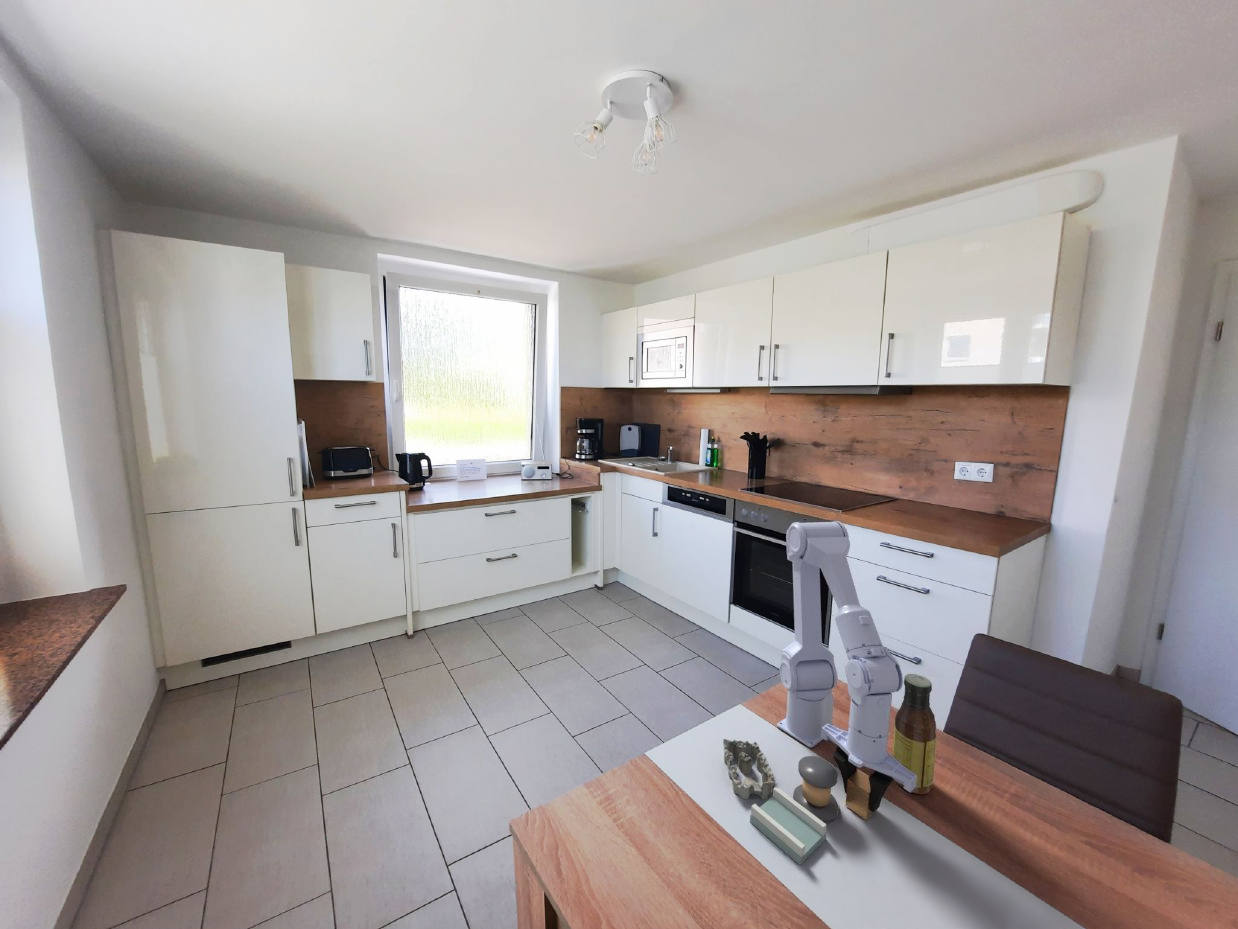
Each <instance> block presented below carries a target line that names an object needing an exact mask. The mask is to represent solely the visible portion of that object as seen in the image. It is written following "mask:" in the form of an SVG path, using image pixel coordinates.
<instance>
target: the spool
mask: <svg viewBox="0 0 1238 929" xmlns="http://www.w3.org/2000/svg"><path fill="white" fill-rule="evenodd" d="M797 765H798V768H797V770H798V774H799V775H800V777H801V778H802V784H799V785H798V786H796V787H795V788H794V790H793V794H792V795H793V796H792V799H794V800H795V801H796V802H797V803H799V804H800V805H801V806H803V807H804V808H805V809H807V810H808V811H809V812H811V813H812V814H813V815H815V816H816V817H817V818H818V819H820V820H821V821H822V822H824V823H825V824H827V823H828V824H830V823H832V822H834V821H835V820H836V819H837V818H838V815H839V803H838V801H837V800H836V798H835V796H833V794H832V788H833V787H835V786H836V785H837V783H838V777H839V776H838V772H837V769H836V767H835V766H834V765H833V764H832V763H830V762H829V761H828V760H826V759H824V758H821V757H820V756H819V757H818V756H815V755H806V756H804V757H802V758H800V759H799V761H798V764H797Z"/></svg>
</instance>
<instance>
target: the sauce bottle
mask: <svg viewBox="0 0 1238 929" xmlns="http://www.w3.org/2000/svg"><path fill="white" fill-rule="evenodd" d="M903 685H904V694H903V701H902V702H901V705H900V708H899V709H898V710H897V712H896V714H895V716H894V727H893V728H894V729H893V730H894V731H893V747H892V756H893V757H894V758H895V759H896V760H897V761H899V762H900V763H901V764H902V765H903V766H904V767H905V768H907V769H908V770H909V771H911V772H912V773H914V774H915V775H917V782H916V787H915V788H914V789H913V791H912V792H911V793H914V794H916V795H917V794H918V795H927V794H929V792H931V790H932V789H933V783H934V775H935V758H936V743H937V742H936V741H937V733H936V731H937V724H936V723H937V722H936V718H935V717H936V716H935V713H933V710H932V707H931V702H930V695H931V694H930V693H931V692H932V691H933V689H932V688H933V685H932V682H931V680H930V679H929V678H927V677H926V676H924V675H920V674H917V673H907V674H906V675H904V677H903ZM895 782H896V783H897V784H898V785H899V786H900V787H901V788H903V787H904V785H902V784H901V783H899V782H898V781H896V780H895ZM903 789H904V788H903Z"/></svg>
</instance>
